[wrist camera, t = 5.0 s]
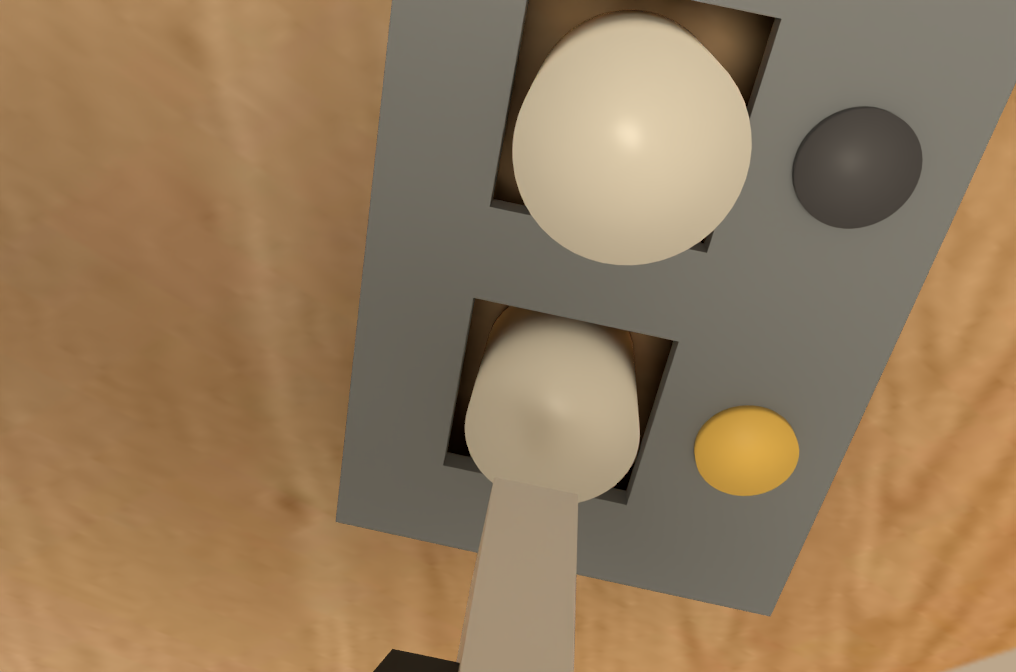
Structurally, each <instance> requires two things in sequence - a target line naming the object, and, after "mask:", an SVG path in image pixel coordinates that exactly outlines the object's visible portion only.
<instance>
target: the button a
mask: <svg viewBox="0 0 1016 672" xmlns="http://www.w3.org/2000/svg"><path fill="white" fill-rule="evenodd" d="M465 437H466V442H467V446H468V449H469V452H470V455H471V456H472V458H473V460H474V462H475V464H476V465H477V467H478V468H479V469H480V471H481V472H482V473H483V474H484V475H485V476H486V477H487V479H489V480H490V481H491V482H492V483H493V481H494V477H495V478H500V479H505V480H510V481H515V482H520V483H524V484H529V485H534V486H539V487H544V488H549V489H553V490H558V491H563V492H568V493H573V494H578V503H579V502H583V501H587V500H590V499H592V498H595V497H597V496H599V495H601V494H603V493H604V492H606V491H608V490H609V489H611V488H612V487H613V486H615V485H616V484H617V483H618V482H619V481H620V480H621V479H622V478H623V477H624V476H625V474H626V473H627V472H628V471H629V469H630V467H631V465H632V464H633V462H634V459H635V457H636V455H637V451H638V447H639V439H640V429H639V415H638V402H637V388H636V374H635V360H634V348H633V343H632V339H631V336H630V334H629V331H627V330H622V329H618V328H613V327H608V326H603V325H599V324H594V323H589V322H585V321H580V320H575V319H571V318H566V317H561V316H557V315H552V314H547V313H543V312H538V311H533V310H529V309H524V308H519V307H514V306H509V307H508V308H507V309H506V310H504V311H503V313H502V314H501V315H500V316H499V317H498V319H497V320H496V322H495V323H494V325H493V327H492V329H491V332H490V334H489V337H488V341H487V344H486V348H485V351H484V355H483V358H482V361H481V365H480V368H479V372H478V375H477V379H476V382H475V386H474V389H473V392H472V396H471V399H470V403H469V406H468V410H467V414H466V419H465Z"/></svg>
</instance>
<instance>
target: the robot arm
mask: <svg viewBox="0 0 1016 672" xmlns="http://www.w3.org/2000/svg"><path fill="white" fill-rule="evenodd" d="M577 528H578V494H573V493H568V492H563V491H558V490H553V489H549V488H544V487H539V486H534V485H529V484H524V483H520V482H515V481H510V480H505V479H500V478H495V477H494V481H493V486H492V490H491V495H490V499H489V504H488V509H487V513H486V518H485V522H484V527H483V532H482V536H481V541H480V545H479V550H478V554H477V559H476V564H475V568H474V573H473V577H472V582H471V587H470V591H469V597H468V602H467V608H466V613H465V618H464V624H463V629H462V635H461V640H460V645H459V651H458V656H457V662H453V661H448V660H443V659H438V658H434V657H429V656H424V655H419V654H414V653H409V652H404V651H400V650H395V649H392V650H391V652H390V653H389V654H388V655H387V656H386V657H385V659H384V660H383V661H382V662H381V663H380V664H379V666H378V667H377V668H376V669H375V670H374V671H373V672H574V645H575V606H576V567H577Z"/></svg>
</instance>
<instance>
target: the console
mask: <svg viewBox="0 0 1016 672" xmlns="http://www.w3.org/2000/svg"><path fill="white" fill-rule="evenodd" d="M693 1H698V2H703V3H708V4H713V5H718V6H722V7H727V8H732V9H737V10H742V11H746V12H751V13H756V14H761V15H766V16H771V17H775V20H774V23H773V26H772V29H771V32H770V36H769V39H768V42H767V45H766V48H765V51H764V55H763V58H762V61H761V64H760V67H759V70H758V74H757V77H756V80H755V83H754V86H753V90H752V93H751V96H750V99H749V102H748V105H747V112H748V115H749V120H750V127H751V138H752V150H751V158H750V165H749V169H748V173H747V177H746V180H745V183H744V185H743V188H742V190H741V193H740V195H739V197H738V198H737V200H736V202H735V204H734V206H733V207H732V209H731V210H730V211H729V213H728V214H727V216H726V217H725V218H724V220H723V221H722V222H721V223H720V224H719V225H718V226H717V227H716V228H715V229H714V230H713V231H712V232H711V233H710V234H709V235H708V236H706V239H705V242H704V243H697V244H695V245H694V246H692V247H691V248H689V249H688V250H686V251H684V252H681V253H679V254H677V255H675V256H673V257H670V258H667V259H664V260H661V261H657V262H653V263H648V264H640V265H613V264H607V263H601V262H597V261H594V260H590V259H587V258H585V257H582V256H580V255H578V254H575V253H573V252H572V251H570V250H568V249H566V248H565V247H563V246H562V245H560V244H559V243H558V242H556V241H555V240H554V239H552V238H551V237H550V236H549V235H548V234H547V233H546V232H545V231H544V230H543V229H542V228H541V227H540V226H539V225H538V223H537V222H536V221H535V219H534V218H533V217H532V215H531V214H530V212H529V210H528V209H527V207H526V206H525V205H520V204H515V203H510V202H506V201H501V200H496V199H493V196H494V191H495V185H496V180H497V174H498V169H499V163H500V158H501V152H502V147H503V141H504V135H505V130H506V124H507V119H508V113H509V108H510V102H511V97H512V91H513V86H514V80H515V75H516V69H517V64H518V58H519V53H520V47H521V42H522V36H523V31H524V25H525V19H526V14H527V8H528V3H529V0H392V6H391V16H390V25H389V34H388V43H387V52H386V62H385V71H384V80H383V89H382V99H381V108H380V117H379V126H378V136H377V145H376V154H375V163H374V173H373V182H372V191H371V200H370V209H369V219H368V228H367V237H366V246H365V256H364V265H363V274H362V283H361V293H360V302H359V311H358V320H357V329H356V339H355V348H354V357H353V366H352V376H351V385H350V394H349V403H348V413H347V422H346V431H345V440H344V450H343V459H342V468H341V477H340V486H339V496H338V505H337V514H336V522H339V523H343V524H348V525H353V526H357V527H362V528H366V529H371V530H376V531H380V532H385V533H389V534H394V535H399V536H403V537H408V538H412V539H417V540H422V541H426V542H431V543H435V544H440V545H444V546H449V547H454V548H458V549H463V550H467V551H472V552H477V553H478V550H479V545H480V541H481V536H482V532H483V527H484V522H485V518H486V513H487V509H488V504H489V499H490V495H491V490H492V486H493V483H492V482H491V481H490V480H489V479H487V477H486V476H485V475H484V474H483V473H482V472H481V471H480V469H479V468H478V467H477V465H476V464H475V462H474V460H473V458H472V457H468V456H463V455H459V454H454V453H449V452H447V450H448V445H449V439H450V434H451V428H452V423H453V417H454V412H455V406H456V401H457V395H458V390H459V384H460V379H461V373H462V367H463V362H464V356H465V351H466V345H467V340H468V334H469V329H470V323H471V318H472V312H473V307H474V301H475V298H477V299H482V300H486V301H491V302H496V303H500V304H505V305H510V306H514V307H519V308H524V309H529V310H533V311H538V312H543V313H547V314H552V315H557V316H561V317H566V318H571V319H575V320H580V321H585V322H589V323H594V324H599V325H603V326H608V327H613V328H618V329H622V330H627V331H632V332H636V333H641V334H646V335H650V336H655V337H660V338H664V339H669V340H673V344H672V347H671V350H670V353H669V356H668V360H667V363H666V366H665V369H664V372H663V375H662V379H661V382H660V385H659V388H658V391H657V394H656V398H655V401H654V404H653V407H652V410H651V414H650V417H649V420H648V423H647V426H646V429H645V433H644V436H643V439H642V442H641V445H640V448H639V452H638V455H637V458H636V461H635V464H634V468H633V471H632V474H631V477H630V480H629V483H628V487H627V490H626V491H625V490H621V489H616V488H611V489H609V490H608V491H606V492H604V493H603V494H601V495H599V496H597V497H595V498H592V499H590V500H587V501H583V502H579V503H578V528H577V567H576V574H578V575H582V576H587V577H591V578H596V579H601V580H605V581H610V582H614V583H619V584H624V585H628V586H633V587H637V588H642V589H647V590H651V591H656V592H660V593H665V594H670V595H674V596H679V597H683V598H688V599H693V600H697V601H702V602H706V603H711V604H715V605H720V606H725V607H729V608H734V609H738V610H743V611H748V612H752V613H757V614H761V615H766V616H771V614H772V612H773V609H774V607H775V605H776V603H777V601H778V599H779V596H780V594H781V592H782V590H783V588H784V586H785V583H786V581H787V579H788V577H789V575H790V573H791V570H792V568H793V566H794V564H795V562H796V559H797V557H798V555H799V553H800V551H801V549H802V546H803V544H804V542H805V540H806V538H807V536H808V533H809V531H810V529H811V527H812V525H813V523H814V520H815V518H816V516H817V514H818V512H819V509H820V507H821V505H822V503H823V501H824V499H825V496H826V494H827V492H828V490H829V488H830V486H831V483H832V481H833V479H834V477H835V475H836V473H837V470H838V468H839V466H840V464H841V462H842V459H843V457H844V455H845V453H846V451H847V449H848V446H849V444H850V442H851V440H852V438H853V436H854V433H855V431H856V429H857V427H858V425H859V423H860V420H861V418H862V416H863V414H864V412H865V410H866V407H867V405H868V403H869V401H870V399H871V396H872V394H873V392H874V390H875V388H876V386H877V383H878V381H879V379H880V377H881V375H882V373H883V370H884V368H885V366H886V364H887V362H888V360H889V357H890V355H891V353H892V351H893V349H894V346H895V344H896V342H897V340H898V338H899V336H900V333H901V331H902V329H903V327H904V325H905V323H906V320H907V318H908V316H909V314H910V312H911V310H912V307H913V305H914V303H915V301H916V299H917V296H918V294H919V292H920V290H921V288H922V286H923V283H924V281H925V279H926V277H927V275H928V273H929V270H930V268H931V266H932V264H933V262H934V260H935V257H936V255H937V253H938V251H939V249H940V246H941V244H942V242H943V240H944V238H945V236H946V233H947V231H948V229H949V227H950V225H951V223H952V220H953V218H954V216H955V214H956V212H957V210H958V207H959V205H960V203H961V201H962V199H963V196H964V194H965V192H966V190H967V188H968V186H969V183H970V181H971V179H972V177H973V175H974V173H975V170H976V168H977V166H978V164H979V162H980V160H981V157H982V155H983V153H984V151H985V149H986V146H987V144H988V142H989V140H990V138H991V136H992V133H993V131H994V129H995V127H996V125H997V123H998V120H999V118H1000V116H1001V114H1002V112H1003V110H1004V107H1005V105H1006V103H1007V101H1008V99H1009V96H1010V94H1011V92H1012V90H1013V88H1014V86H1015V83H1016V0H693Z"/></svg>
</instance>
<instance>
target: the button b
mask: <svg viewBox="0 0 1016 672" xmlns="http://www.w3.org/2000/svg"><path fill="white" fill-rule="evenodd" d="M512 149H513V167H514V174H515V178H516V182H517V186H518V189H519V192H520V194H521V197H522V199H523V201H524V204H525V205H526V207H527V209H528V210H529V212H530V214H531V215H532V217H533V218H534V219H535V221H536V222H537V223H538V225H539V226H540V227H541V228H542V229H543V230H544V231H545V232H546V233H547V234H548V235H549V236H550V237H551V238H552V239H554V240H555V241H556V242H558V243H559V244H560V245H562V246H563V247H565V248H566V249H568V250H570V251H572V252H573V253H575V254H578V255H580V256H582V257H585V258H587V259H590V260H594V261H597V262H601V263H607V264H613V265H640V264H648V263H653V262H657V261H661V260H664V259H667V258H670V257H673V256H675V255H677V254H679V253H681V252H684V251H686V250H688V249H689V248H691V247H692V246H694V245H695V244H697V243H699V242H700V241H702V240H703V239H704V238H705V237H706V236H708V235H709V234H710V233H711V232H712V231H713V230H714V229H715V228H716V227H717V226H718V225H719V224H720V223H721V222H722V221H723V220H724V218H725V217H726V216H727V214H728V213H729V211H730V210H731V209H732V207H733V206H734V204H735V202H736V200H737V198H738V197H739V195H740V193H741V190H742V188H743V185H744V183H745V180H746V177H747V173H748V169H749V165H750V158H751V150H752V138H751V127H750V120H749V115H748V112H747V109H746V105H745V102H744V100H743V97H742V95H741V93H740V91H739V89H738V87H737V85H736V84H735V82H734V81H733V79H732V78H731V76H730V74H729V73H728V72H727V71H726V70H725V69H724V67H723V66H722V65H721V64H720V63H719V62H718V61H717V60H716V59H715V57H714V56H713V55H712V54H711V53H710V52H709V51H708V50H707V49H706V48H705V47H704V46H703V45H702V44H701V42H700V41H699V40H698V39H697V38H696V37H695V36H694V35H693V34H692V33H690V32H689V31H688V30H687V29H686V28H685V27H683V26H681V25H680V24H678V23H677V22H675V21H673V20H671V19H669V18H667V17H664V16H662V15H659V14H655V13H652V12H647V11H639V10H621V11H614V12H609V13H605V14H602V15H598V16H596V17H593V18H591V19H589V20H587V21H585V22H583V23H581V24H580V25H578V26H576V27H575V28H573V29H572V30H571V31H569V32H568V33H567V34H566V35H565V36H563V37H562V38H561V39H560V41H559V42H558V43H557V44H556V45H555V46H554V47H553V48H552V50H551V51H550V52H549V54H548V55H547V57H546V58H545V60H544V62H543V64H542V66H541V67H540V69H539V71H538V73H537V75H536V77H535V79H534V81H533V83H532V85H531V87H530V90H529V92H528V94H527V96H526V98H525V100H524V102H523V104H522V107H521V109H520V112H519V114H518V118H517V122H516V126H515V130H514V137H513V146H512Z"/></svg>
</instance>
